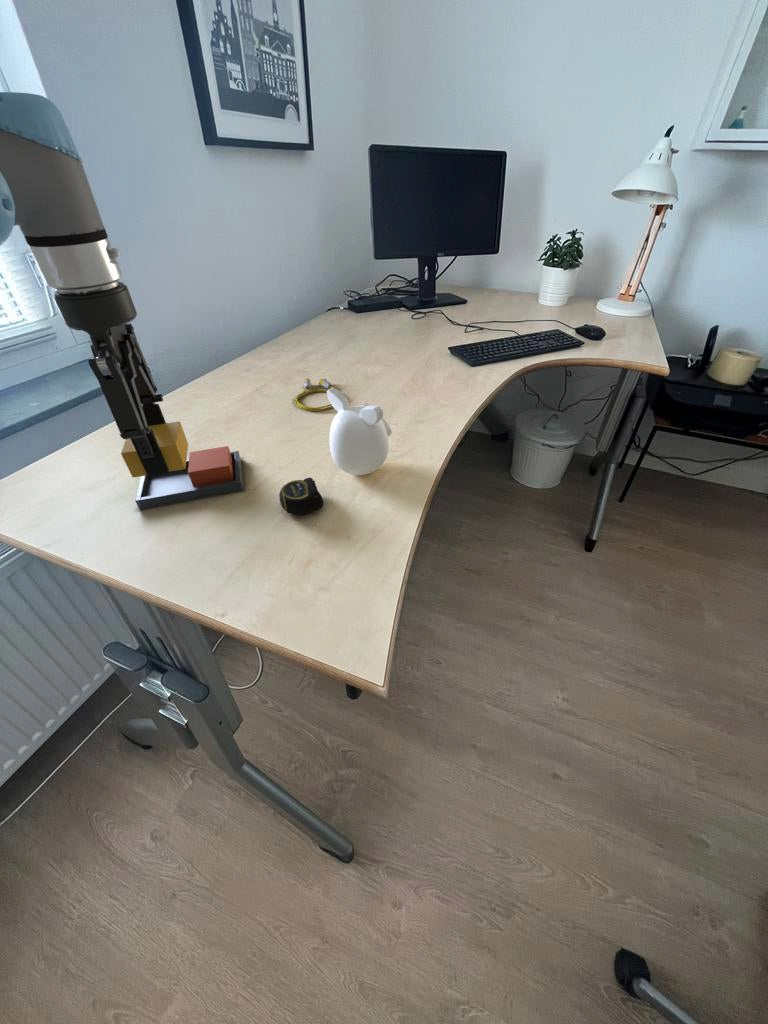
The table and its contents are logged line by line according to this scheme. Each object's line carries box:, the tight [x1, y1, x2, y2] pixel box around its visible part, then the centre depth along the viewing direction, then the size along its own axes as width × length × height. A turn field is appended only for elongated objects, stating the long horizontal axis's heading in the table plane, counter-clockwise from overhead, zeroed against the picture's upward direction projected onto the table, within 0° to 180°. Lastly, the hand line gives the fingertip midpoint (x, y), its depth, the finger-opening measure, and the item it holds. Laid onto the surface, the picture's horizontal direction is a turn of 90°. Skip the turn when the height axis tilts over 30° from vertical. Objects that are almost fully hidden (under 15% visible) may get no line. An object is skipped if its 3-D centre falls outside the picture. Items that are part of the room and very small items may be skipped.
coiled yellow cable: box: [294, 377, 334, 412], centre depth 107 cm, size 12×16×2 cm
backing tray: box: [135, 450, 244, 511], centre depth 80 cm, size 18×11×2 cm, turn 107°
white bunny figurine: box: [326, 387, 392, 476], centre depth 79 cm, size 12×12×15 cm
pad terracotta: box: [188, 445, 234, 488], centre depth 80 cm, size 7×7×4 cm
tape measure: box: [278, 477, 325, 516], centre depth 74 cm, size 7×7×4 cm
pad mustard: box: [120, 421, 189, 478], centre depth 62 cm, size 7×7×4 cm
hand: (161, 458), depth 63 cm, fingers closed on pad mustard, 7 cm apart
